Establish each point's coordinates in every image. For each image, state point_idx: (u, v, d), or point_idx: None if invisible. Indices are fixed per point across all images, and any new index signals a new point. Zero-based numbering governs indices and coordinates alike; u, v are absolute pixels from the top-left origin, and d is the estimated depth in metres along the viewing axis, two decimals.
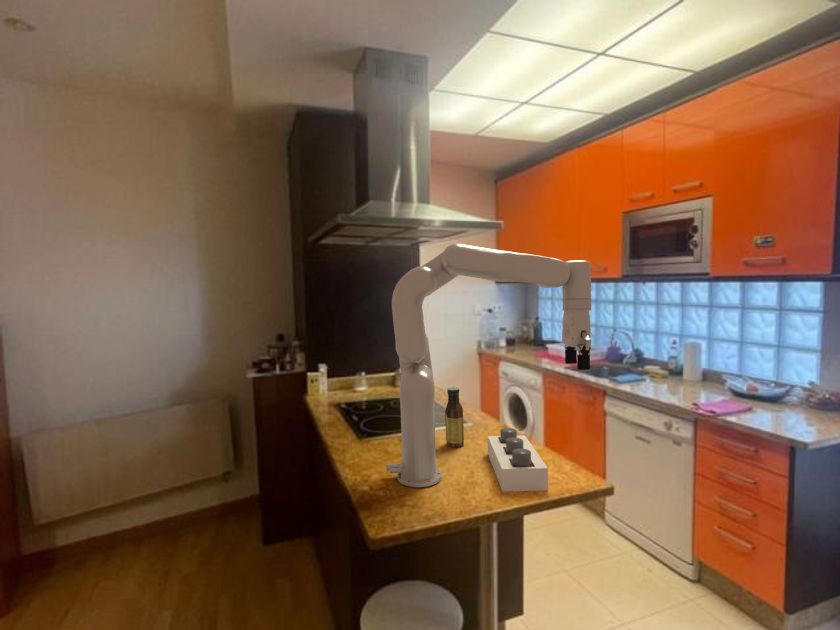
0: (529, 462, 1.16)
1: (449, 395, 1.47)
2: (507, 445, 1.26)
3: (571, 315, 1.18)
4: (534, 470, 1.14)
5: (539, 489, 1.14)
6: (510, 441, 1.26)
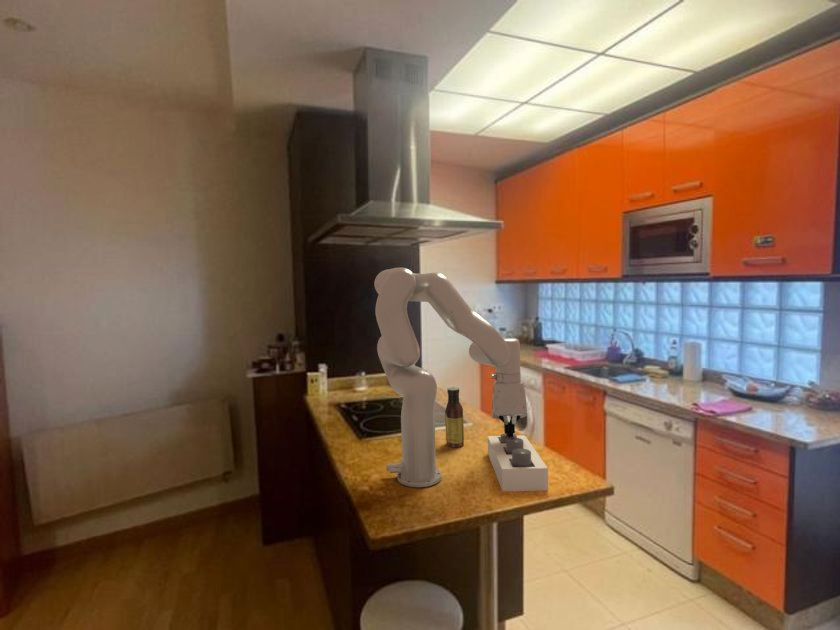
0: (529, 462, 1.16)
1: (449, 395, 1.47)
2: (507, 445, 1.26)
3: (520, 387, 1.33)
4: (534, 470, 1.14)
5: (539, 489, 1.14)
6: (510, 441, 1.26)
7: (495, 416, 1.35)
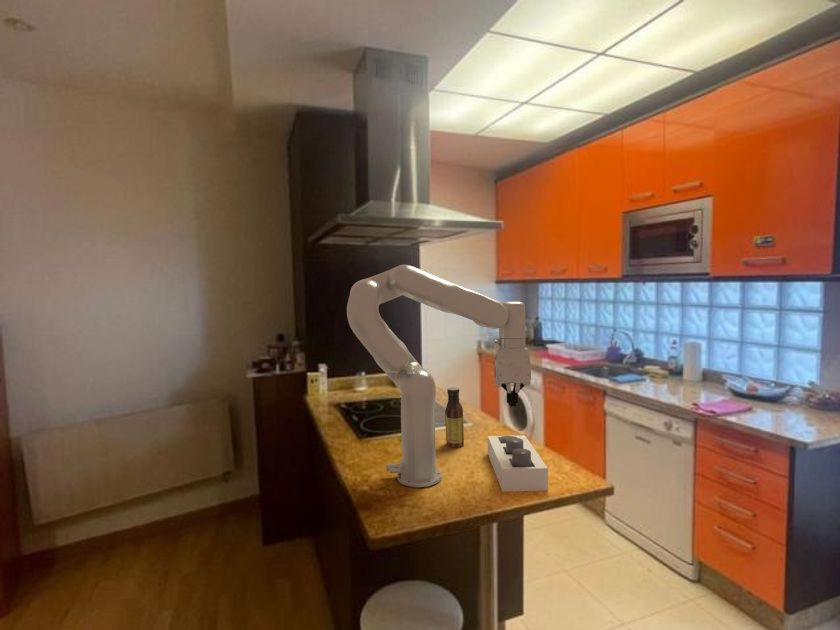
0: (529, 462, 1.16)
1: (449, 395, 1.47)
2: (507, 445, 1.26)
3: (524, 353, 1.25)
4: (534, 470, 1.14)
5: (539, 489, 1.14)
6: (510, 441, 1.26)
7: (497, 384, 1.27)
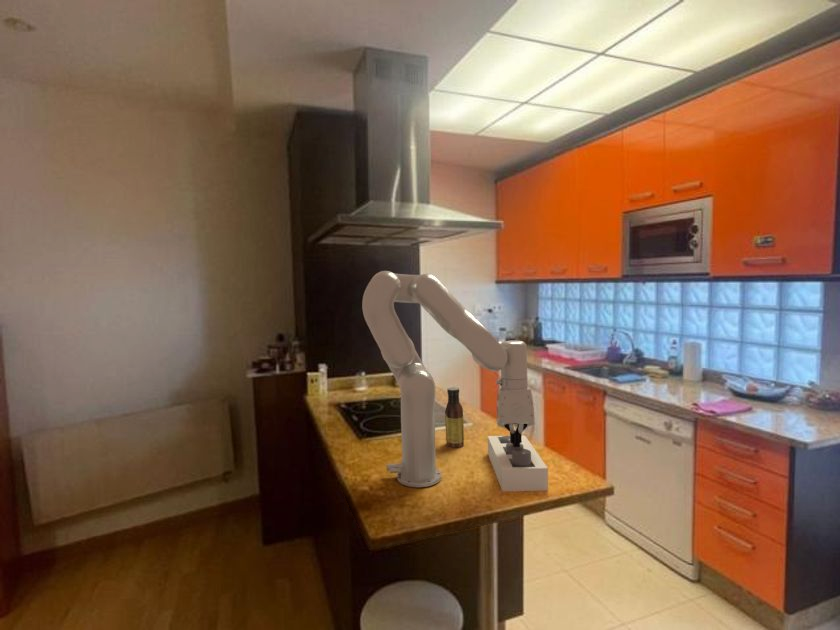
0: (529, 462, 1.16)
1: (449, 395, 1.47)
2: (507, 450, 1.26)
3: (527, 393, 1.24)
4: (534, 470, 1.14)
5: (539, 489, 1.14)
6: (510, 446, 1.26)
7: (500, 424, 1.26)
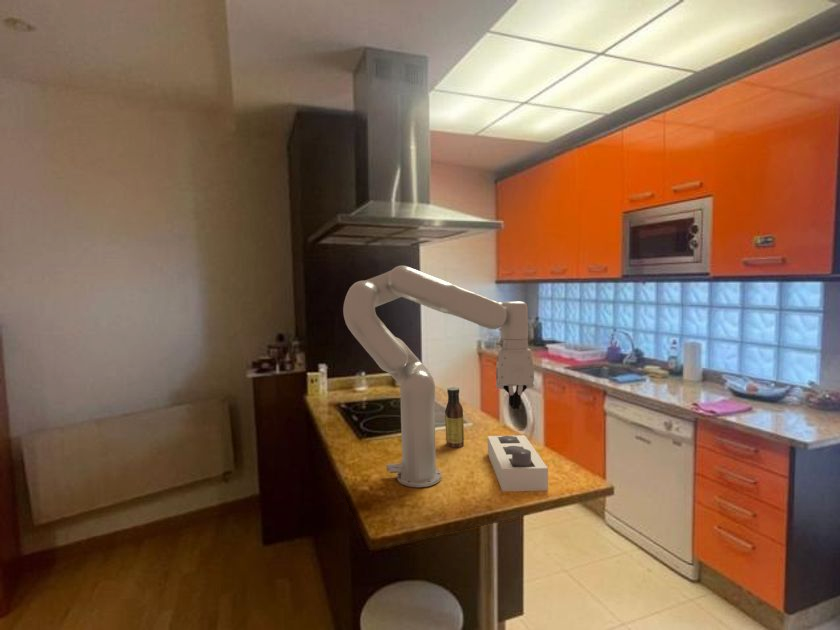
0: (529, 462, 1.16)
1: (449, 395, 1.47)
2: (507, 453, 1.26)
3: (527, 354, 1.22)
4: (534, 470, 1.14)
5: (539, 489, 1.14)
6: (510, 449, 1.26)
7: (499, 386, 1.24)
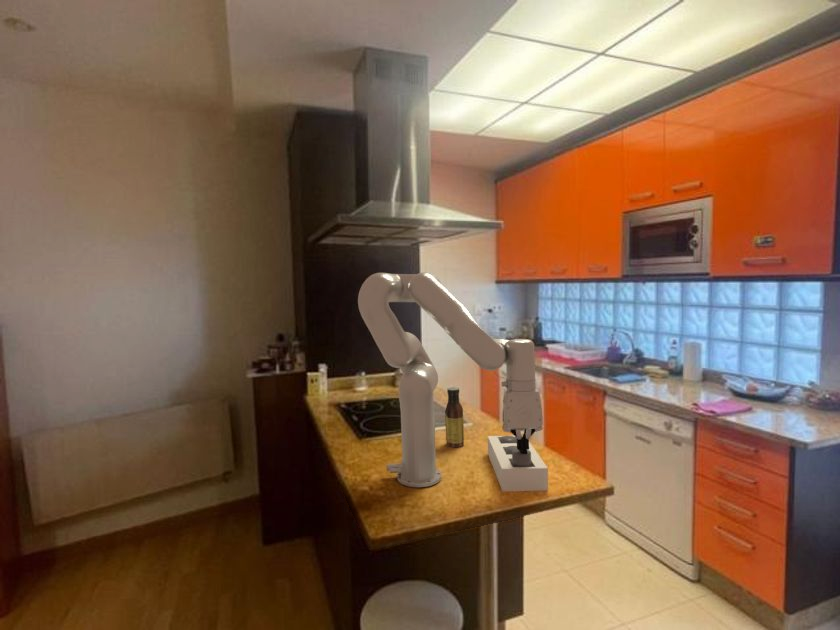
0: (529, 462, 1.16)
1: (449, 395, 1.47)
2: (507, 453, 1.26)
3: (535, 396, 1.14)
4: (534, 470, 1.14)
5: (539, 489, 1.14)
6: (510, 449, 1.26)
7: (506, 430, 1.17)
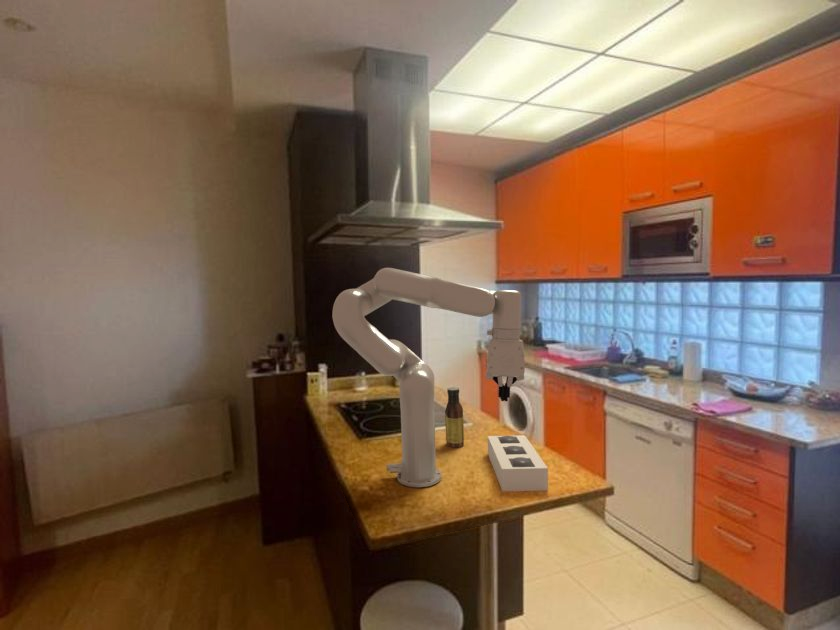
0: None
1: (449, 395, 1.47)
2: (507, 453, 1.26)
3: (518, 345, 1.18)
4: (534, 470, 1.14)
5: (539, 489, 1.14)
6: (510, 449, 1.26)
7: (489, 377, 1.20)
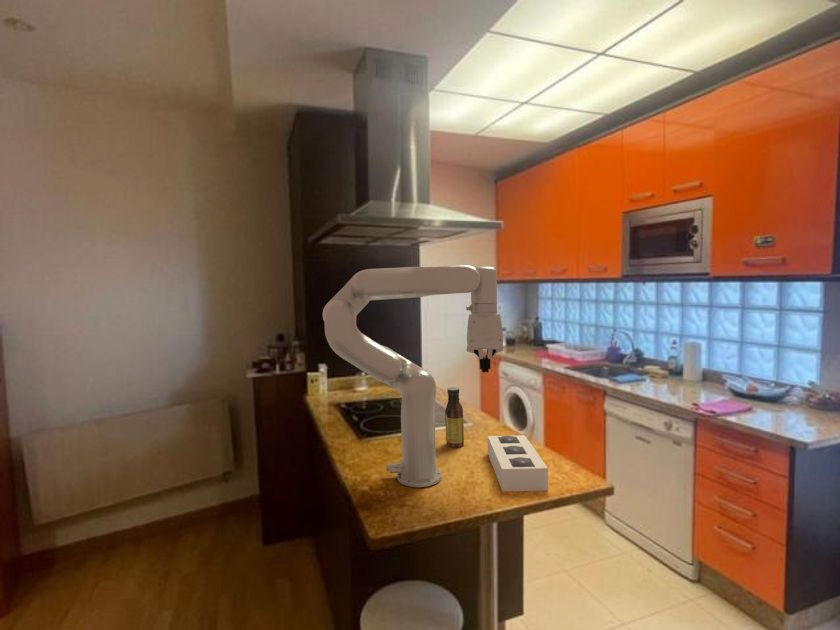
0: None
1: (449, 395, 1.47)
2: (507, 453, 1.26)
3: (496, 318, 1.24)
4: (534, 470, 1.14)
5: (539, 489, 1.14)
6: (510, 449, 1.26)
7: (470, 350, 1.27)
